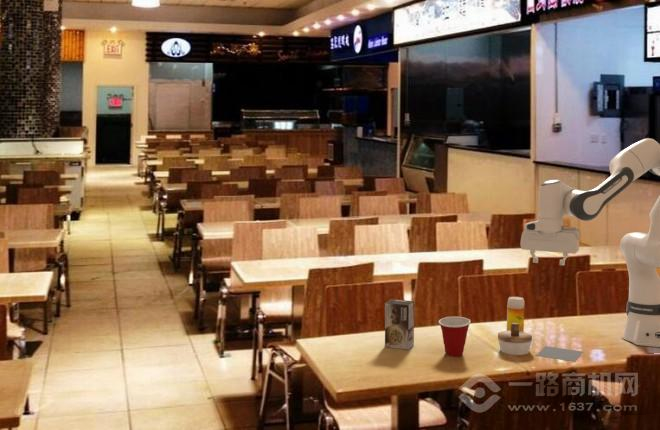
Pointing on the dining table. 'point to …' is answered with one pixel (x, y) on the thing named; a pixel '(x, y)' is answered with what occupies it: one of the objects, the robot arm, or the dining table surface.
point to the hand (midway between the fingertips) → (548, 263)
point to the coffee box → (399, 324)
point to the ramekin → (514, 347)
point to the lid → (515, 335)
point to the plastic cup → (454, 334)
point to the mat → (559, 353)
